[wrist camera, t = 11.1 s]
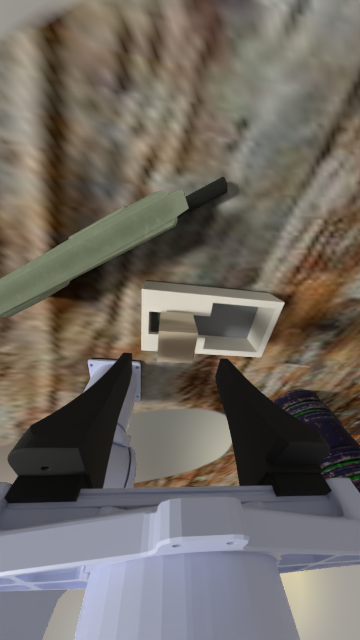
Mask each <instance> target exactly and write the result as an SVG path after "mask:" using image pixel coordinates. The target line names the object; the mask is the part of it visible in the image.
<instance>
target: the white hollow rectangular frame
mask: <svg viewBox="0 0 360 640" xmlns="http://www.w3.org/2000/svg"><path fill="white" fill-rule="evenodd" d="M284 303H285V302H283V301H281V300H280V299H278V298H276V297H275V296H273V295H271V294H270V293H268V292H260V291H250V290H240V289H230V288H220V287H210V286H200V285H190V284H180V283H170V282H161V281H151V280H146V282H145V284H144V286H143V288H142V336H141V350H146V351H158V333H159V323H160V322H159V320H158V312H161V311H164V312H178V313H192V314H193V316H194V320H195V324H196V327H197V331H198V337H197V343H196V348H195V353H196V354H213V355H230V356H247V357H261V356H262V354H263V351H264V349H265V347H266V344H267V342H268V340H269V338H270V335H271V333H272V331H273V329H274V326H275V324H276V322H277V319H278V317H279V315H280V313H281V310H282V308H283V306H284Z"/></svg>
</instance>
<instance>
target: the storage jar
mask: <svg viewBox="0 0 360 640" xmlns="http://www.w3.org/2000/svg"><path fill="white" fill-rule="evenodd" d="M274 403H275V404H277V405H278V406H279V407H281V408H282V409H284V410H285V411H287V412H288V413H290V414H291V415H293V416H294V417H296V418H298V419H299V420H301V421H303V422H304V423H306V424H308V425H310V426H311V427H313V428H315V429H317V430H318V431H319V432H320V434H321V435H322V436H323V438H324V439H325V440H326V442H327V443H328V445H329V446H330V452H329V454H328V455H327V456H326V457H325V458H324V459H323V460H322V461H321V462H320V463H319V465H320V466H321V468H322V469H323V472H322V473H321V474H322V476H323V477H324V479H328V478H349V479H350V480H351V482H352V483H353V485H354V486H355V487H356V489H357V490H358V491H359V493H360V445H359V444H358V443H357V442H356V441H355V440H354V439H353V437H352V436H351V435H350V434H349V433H348V432H347V431H346V430H345V428H344V427H343V426H342V424H341V422H340V421H339V419H338V418H337V417H336V416H335V415H334V414H333V412H332V411H331V410H330V409H329V408H328V406H327V405H325V404H324V403H323V402H322V401H321V400H320V399H319V398H318V396H317V395H316V394H315V393H314V392H312V391H309V390H295V391H291V392H288V393H286V394H283V395H282V396H280V397H279V398H277V399H276V400H275V401H274Z"/></svg>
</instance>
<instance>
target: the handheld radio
mask: <svg viewBox="0 0 360 640" xmlns="http://www.w3.org/2000/svg"><path fill="white" fill-rule="evenodd" d="M225 193H227V182H226V180H225V178H224V177H221V178H220V179H218V180H216V181H214V182H212V183H210V184H208V185H207V186H205V187H203V188H201V189H199V190H197V191H195V192H194V193H192V194H190V195H188V196H186V197H185V194H184V191H183V189H182V190H179V191H176V192H174V193H171V194H168V193H167V192H165V191H158V192H154V193H152V194H150V195H148V196H147V197H145V198H143V199H141V200H139V201H137V202H136V203H134V204H132V205H130V206H123V207H122V208H120V209H118V210H116V211H115V212H113V213H111V214H109V215H107V216H106V217H104V218H102V219H100V220H99V221H97V222H95V223H93V224H92V225H90V226H88V227H86V228H84V229H83V230H81V231H79V232H77V233H76V234H74V235H72V236H69V240H67V241H65V242H64V243H62V244H60V245H58V246H57V247H56V248H54V249H52V250H50V251H49V252H47V253H45V254H43V255H42V256H40V257H38V258H36V259H35V260H33V261H31V262H29V263H28V264H26V265H24V266H22V267H21V268H19V269H17V270H15V271H14V272H12V273H10V274H8V275H7V276H5V277H3V278H1V279H0V317H10V316H12V315H14V314H16V313H18V312H20V311H22V310H24V309H26V308H28V307H30V306H32V305H34V304H36V303H38V302H40V301H42V300H44V299H45V298H47V297H49V296H51V295H52V294H54V293H56V292H57V291H59V290H61V289H62V288H64V287H66V286H67V285H68V284H69V283H70V280H72V279H74V278H76V277H78V276H80V275H82V274H84V273H86V272H88V271H89V270H91V269H93V268H95V267H97V266H99V265H101V264H103V263H105V262H107V261H109V260H111V259H113V258H115V257H117V256H119V255H121V254H123V253H124V252H126V251H128V250H130V249H132V248H134V247H136V246H138V245H140V244H142V243H144V242H146V241H148V240H150V239H152V238H154V237H156V236H158V235H160V234H161V233H163V232H165V231H167V230H169V229H171V228H173V227H175V226H176V224H177V221H178V220H177V218H179V217H181V216H182V215H183V214H185V213H187V212H188V211H192V210H194V209H196V208H198V207H200V206H202V205H204V204H206V203H208V202H209V201H211V200H213V199H215V198H217V197H219V196H221V195H223V194H225Z"/></svg>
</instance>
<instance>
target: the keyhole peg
mask: <svg viewBox="0 0 360 640" xmlns="http://www.w3.org/2000/svg"><path fill="white" fill-rule="evenodd" d="M158 320H159V322H160V323H159V333H158V352H157V362H179V363H193V358H194V353H195V348H196V343H197V337H198V331H197V327H196V324H195V320H194V316H193V314H192V313H178V312H164V311H161V312H158Z"/></svg>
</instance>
